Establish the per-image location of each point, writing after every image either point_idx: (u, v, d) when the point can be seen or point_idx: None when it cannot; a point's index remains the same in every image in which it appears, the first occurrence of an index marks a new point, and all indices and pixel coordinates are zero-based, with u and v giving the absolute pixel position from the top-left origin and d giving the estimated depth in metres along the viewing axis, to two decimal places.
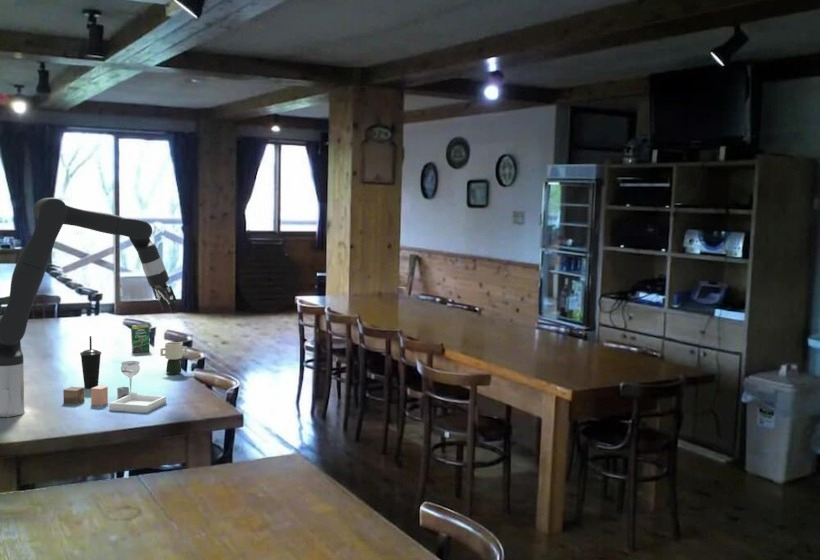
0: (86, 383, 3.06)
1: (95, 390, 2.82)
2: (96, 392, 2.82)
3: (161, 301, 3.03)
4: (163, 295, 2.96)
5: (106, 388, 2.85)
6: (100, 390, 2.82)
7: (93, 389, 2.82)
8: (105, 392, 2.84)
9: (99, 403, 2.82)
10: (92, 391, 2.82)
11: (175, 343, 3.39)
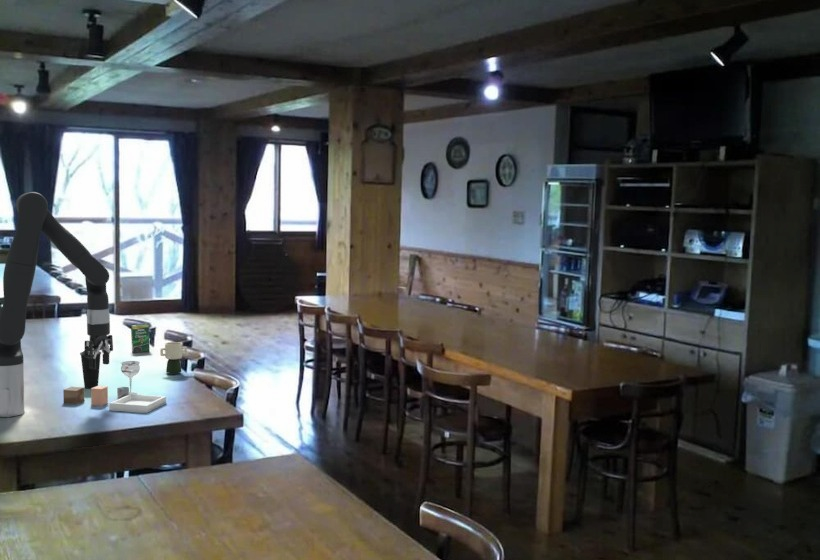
0: (86, 383, 3.06)
1: (95, 390, 2.82)
2: (96, 392, 2.82)
3: (104, 354, 2.87)
4: None
5: (106, 388, 2.85)
6: (100, 390, 2.82)
7: (93, 389, 2.82)
8: (105, 392, 2.84)
9: (99, 403, 2.82)
10: (92, 391, 2.82)
11: (175, 343, 3.39)
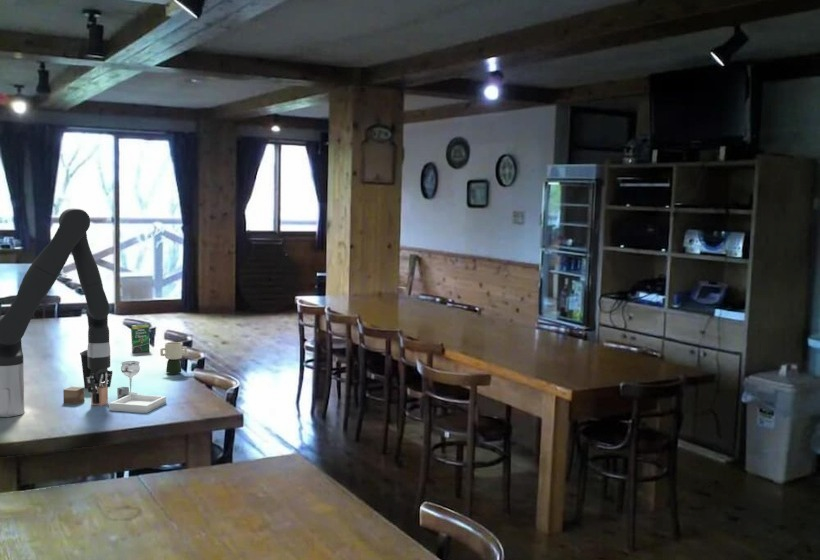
0: None
1: None
2: None
3: None
4: None
5: (106, 388, 2.85)
6: (100, 390, 2.82)
7: None
8: (105, 392, 2.84)
9: (99, 403, 2.82)
10: None
11: (175, 343, 3.39)
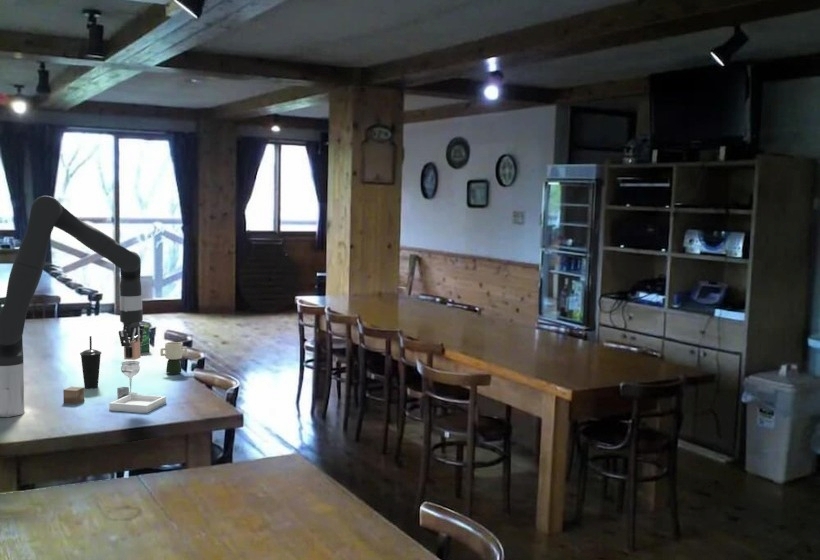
0: (86, 383, 3.06)
1: None
2: None
3: None
4: None
5: (139, 342, 2.81)
6: (133, 344, 2.78)
7: None
8: (138, 346, 2.81)
9: (132, 357, 2.79)
10: None
11: (175, 343, 3.39)
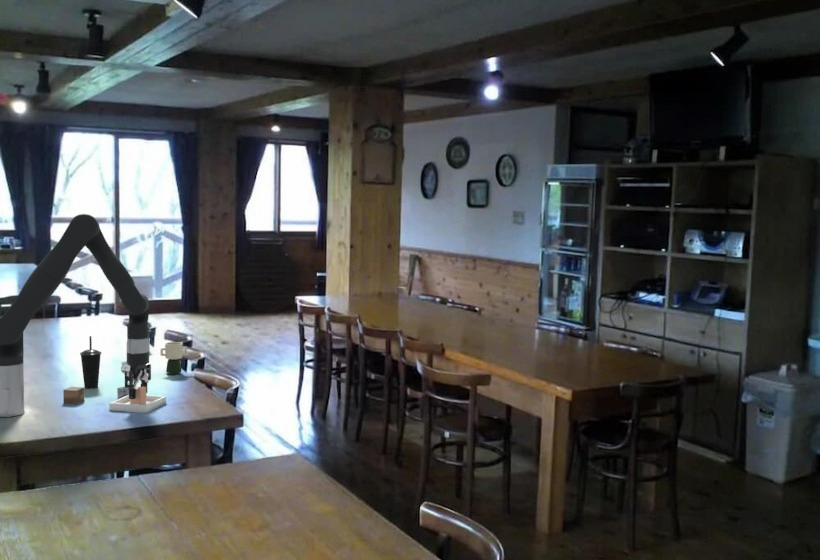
0: (86, 383, 3.06)
1: None
2: None
3: (142, 383, 2.85)
4: None
5: (145, 388, 2.82)
6: (139, 390, 2.79)
7: None
8: (144, 392, 2.81)
9: (138, 403, 2.79)
10: None
11: (175, 343, 3.39)
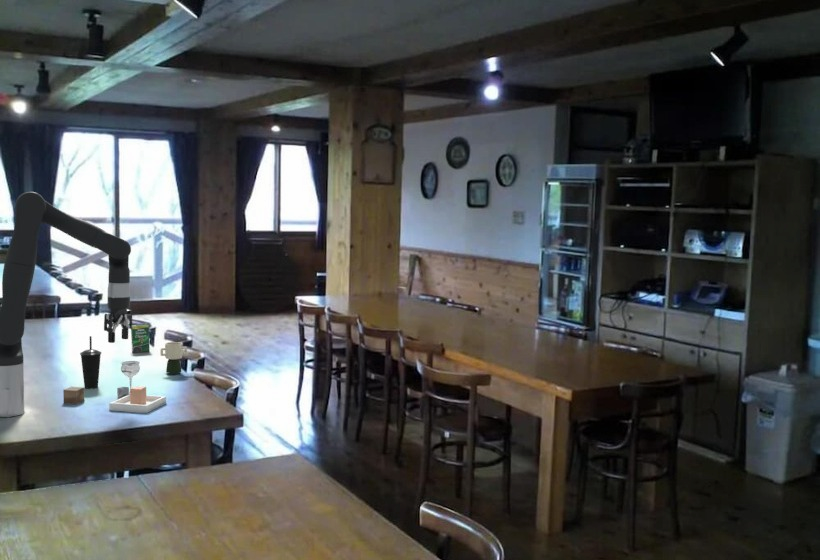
0: (86, 383, 3.06)
1: (134, 390, 2.79)
2: (135, 393, 2.79)
3: (123, 329, 2.86)
4: None
5: (145, 388, 2.82)
6: (139, 390, 2.79)
7: (132, 389, 2.79)
8: (144, 392, 2.81)
9: (138, 403, 2.79)
10: (131, 391, 2.79)
11: (175, 343, 3.39)
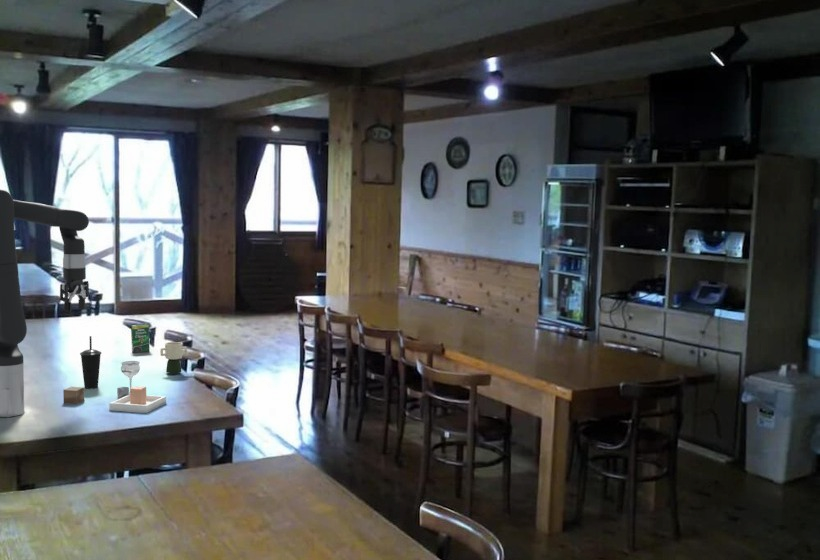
0: (86, 383, 3.06)
1: (134, 390, 2.79)
2: (135, 393, 2.79)
3: (80, 299, 2.93)
4: None
5: (145, 388, 2.82)
6: (139, 390, 2.79)
7: (132, 389, 2.79)
8: (144, 392, 2.81)
9: (138, 403, 2.79)
10: (131, 391, 2.79)
11: (175, 343, 3.39)
